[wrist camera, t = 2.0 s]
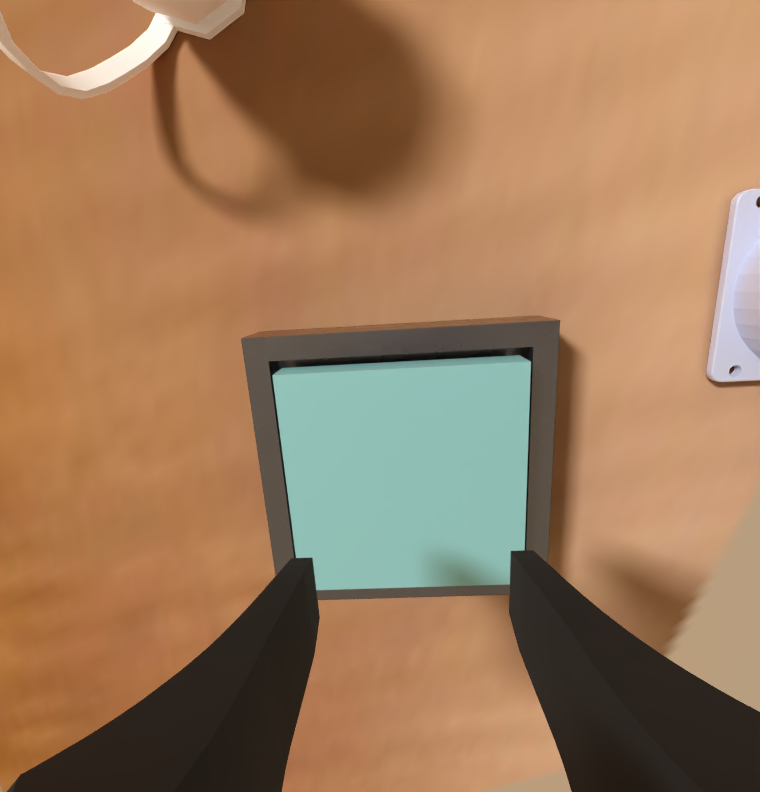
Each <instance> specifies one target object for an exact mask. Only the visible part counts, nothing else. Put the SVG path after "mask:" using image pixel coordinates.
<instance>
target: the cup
mask: <svg viewBox="0 0 760 792" xmlns="http://www.w3.org/2000/svg"><path fill="white" fill-rule="evenodd" d="M132 1H133V2H135V3H137V4H138V5H140V6H142V7H144V8H145V9H147V10H149V11H152V12H155V13H156V14H155V16H154V18H153V20H152V22H151V25H150V27H149V28H148V29H147V30H146V31H145V32H144V33H143V34H142V35H141V36H140V37H139V38H138V39H137V40H135V41H134V42H133V43H132V44H131V45H130V46H129V47H127V48H126V49H124V50H122V51H121V52H119V53H117V54H116V55H114V56H112V57H111V58H109V59H107V60H105V61H104V62H102V63H100V64H98V65H96V66H94V67H93V68H91V69H88V70H85V71H82V72H79V73H76V74H73V75H70V76H63V75H58V74H54V73H49V72H45V71H41V70H39V69H38V68H37V67H36V66H35V65H34V64H33V62H32V61H31V60H30V59H29V58H28V57H27V56H26V55H25V54H24V53H23V52H22V51H21V50H20V49H19V47H18V46H17V45H16V44H15V43H14V42H13V41H12V38H11V36H10V33H9V31H8V28H7V26H6V23H5V21H4V18H3V16H2V13H1V11H0V49H1V50H2V51H3V52H4V53H5V54H6V55H7V56H8V57H9V58H10V59H11V60H12V61H13V62H15V63H16V64H17V65H19V66H20V67H21V68H22V69H24V70H25V71H26V72H28V73H29V74H30V75H32V76H33V77H35V78H36V79H37V80H39V81H40V82H42V83H43V84H44V85H46V86H47V87H49V88H50V89H51V90H53V91H54V92H56V93H57V94H60V95H65V96H70V97H75V98H80V99H87V98H91V97H94V96H97V95H101V94H104V93H107V92H109V91H111V90H113V89H115V88H116V87H118V86H120V85H121V84H123V83H125V82H126V81H128V80H129V79H131V78H132V77H134V76H135V75H137V74H138V73H140V72H141V71H143V70H144V69H146V68H147V67H149V66H150V65H151V64H152V63H153V62H154V61H155V60H156V59H157V58H158V57H159V56H160V55H161V54H163V53H164V52H165V51H166V50H167V49H168V48H169V46H170V44H171V42H172V41H173V39H174V37H175V35H176V33H177V31H180V32H184V33H187V34H191V35H195V36H198V37H202V38H205V39H209V40H210V39H212V38H213V37H214V36H216V35H217V34H218V33H219V32H221V31H222V30H223V29H225V28H226V27H227V26H228V25H230V24H231V23H232V22H234V21H235V20H236V19H237V18H239V17H240V16H241V15H243V14H244V12H245V4H246V0H132Z"/></svg>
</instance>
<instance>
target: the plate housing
mask: <svg viewBox="0 0 760 792" xmlns="http://www.w3.org/2000/svg"><path fill="white" fill-rule="evenodd" d="M559 329H560V320H557V319H552V318H547V317H542V316H525V317H507V318H490V319H473V320H456V321H438V322H421V323H404V324H387V325H369V326H352V327H335V328H318V329H300V330H283V331H266V332H258V333H255V334H252V335H250V336H247V337H244V338H241V341H242V348H243V355H244V362H245V368H246V375H247V382H248V389H249V396H250V403H251V410H252V417H253V423H254V430H255V437H256V444H257V451H258V458H259V465H260V471H261V478H262V485H263V492H264V499H265V506H266V513H267V520H268V526H269V533H270V540H271V547H272V554H273V561H274V568H275V574H276V575H277V574H278V573H279V572H280V570H281V569H282V568H283V567H284V566H285V565H286V563H287V562H288V561H289V560H290V559H291V558H296V554H295V546H294V538H293V531H292V523H291V515H290V508H289V500H288V492H287V484H286V477H285V469H284V461H283V453H282V446H281V438H280V430H279V422H278V415H277V407H276V399H275V391H274V384H273V376H272V375H273V374H275V373H276V372H277V371H279V370H280V369H282V368H290V367H309V366H328V365H346V364H365V363H383V362H402V361H420V360H439V359H457V358H476V357H495V356H513V355H520V356H522V357H524V358H525V359H527V360H529V361H531V376H530V405H529V435H528V464H527V494H526V523H525V550H533V551H535V552H536V553H537V554H538V555H539V556H540V557H541V558H542V559H543V560H544V561H545V562H547V563H548V545H549V526H550V506H551V486H552V467H553V447H554V427H555V408H556V388H557V368H558V349H559ZM316 592H317V600H338V599H373V598H407V597H442V596H476V595H510V584H507V585H474V586H441V587H407V588H374V589H340V590H316Z"/></svg>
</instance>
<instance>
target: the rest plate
mask: <svg viewBox="0 0 760 792" xmlns="http://www.w3.org/2000/svg"><path fill="white" fill-rule="evenodd" d="M272 376H273V384H274V391H275V399H276V407H277V415H278V422H279V430H280V438H281V446H282V453H283V461H284V469H285V477H286V484H287V492H288V500H289V508H290V515H291V523H292V531H293V538H294V546H295V554H296V558H313V566H314V575H315V583H316V590H340V589H374V588H407V587H441V586H474V585H507V584H510V559H511V551H522V550H525V523H526V494H527V464H528V435H529V405H530V376H531V361H529V360H527V359H525V358H524V357H522V356H520V355H513V356H495V357H476V358H457V359H439V360H420V361H402V362H383V363H365V364H346V365H328V366H309V367H290V368H282V369H280V370H279V371H277V372H276V373H275V374H273V375H272Z"/></svg>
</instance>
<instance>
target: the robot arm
mask: <svg viewBox="0 0 760 792" xmlns="http://www.w3.org/2000/svg"><path fill="white" fill-rule="evenodd" d="M758 197H759V198H760V189H750V190H746V191H742V192H740V193H738V194H737V195H735V197H734V198H733V199H732V202H731V205H730V212H729V219H728V226H727V233H726V240H725V247H724V253H723V260H722V267H721V274H720V281H719V288H718V295H717V302H716V309H715V316H714V322H713V329H712V336H711V343H710V350H709V357H708V364H707V376H708V378H709V379H711V380H713V381H716V382H736V381H756V380H760V207H759V208H758V207H757V206H756V201H757V198H758ZM733 366H734V371H733V372H732V373H731V374H729V370H730V368H731V367H733ZM509 613H510V617H511V621H512V625H513V629H514V633H515V636H516V640H517V643H518V647H519V650H520V653H521V656H522V658H523V661H524V663H525V666H526V669H527V671H528V674H529V676H530V679H531V681H532V684H533V686H534V689H535V692H536V694H537V697H538V699H539V702H540V704H541V707H542V709H543V712H544V714H545V717H546V719H547V722H548V724H549V727H550V729H551V732H552V734H553V737H554V740H555V742H556V745H557V748H558V751H559V753H560V756H561V759H562V762H563V765H564V768H565V771H566V774H567V777H568V780H569V784H570V787H571V791H572V792H760V712H759V711H757V710H755V709H753V708H751V707H749V706H747V705H745V704H744V703H742V702H740V701H738V700H736V699H734V698H733V697H731V696H729V695H727V694H725V693H724V692H722V691H720V690H718V689H717V688H715V687H713V686H711V685H710V684H708V683H707V682H705V681H703V680H701V679H700V678H698V677H696V676H695V675H693V674H691V673H690V672H688V671H686V670H685V669H683V668H682V667H680V666H678V665H677V664H675V663H674V662H672V661H670V660H669V659H667V658H666V657H664V656H663V655H661V654H660V653H659V652H657V651H656V650H654V649H653V648H651V647H650V646H648V645H647V644H645V643H644V642H642V641H641V640H639V639H638V638H637V637H635V636H634V635H633V634H631V633H630V632H628V631H627V630H626V629H624V628H623V627H622V626H621V625H619V624H618V623H617V622H615V621H614V620H613V619H611V618H610V617H609V616H608V615H606V614H605V613H604V612H602V611H601V610H600V609H599V608H598V607H596V606H595V605H594V604H593V603H592V602H590V601H589V600H588V599H587V598H586V597H584V596H583V595H582V594H581V593H580V592H579V591H577V590H576V589H575V588H574V587H573V586H572V585H571V584H570V583H568V582H567V581H566V580H565V579H564V578H563V577H562V576H561V575H560V574H558V573H557V572H556V571H555V570H554V569H553V568H552V567H551V566H550V565H549V564H548V563H547V562H545V561H544V560H543V559H542V558H541V557H540V556H539V555H538V554H537V553H536V552H535V551H533V550H522V551H511V559H510V600H509ZM319 618H320V617H319V609H318V600H317V592H316V583H315V575H314V566H313V558H291V559H290V560H289V561H288V562H287V563H286V565H285V566H284V567H283V568H282V569H281V570H280V572H279V573H278V574H277V575H276V576H275V577H274V579H273V580H272V581H271V582H270V583H269V584H268V586H267V587H266V588H265V589H264V590H263V591H262V593H261V594H260V595H259V596H258V597H257V598H256V599H255V600H254V601H253V603H252V604H251V605H250V606H249V607H248V608H247V609H246V610H245V611H244V612H243V613H242V614H241V616H240V617H239V618H238V619H237V620H236V621H235V622H234V623H233V624H232V625H231V626H230V627H229V628H228V629H227V630H226V631H225V632H224V633H223V634H222V635H221V636H220V637H219V638H218V639H217V640H216V641H214V642H213V643H212V644H211V645H210V646H209V647H208V648H207V649H206V650H205V651H203V652H202V653H201V654H200V655H199V656H198V657H196V658H195V659H194V660H193V661H192V662H191V663H189V664H188V665H187V666H186V667H185V668H183V669H182V670H181V671H180V672H178V673H177V674H176V675H175V676H173V677H172V678H171V679H169V680H168V681H167V682H165V683H164V684H163V685H161V686H160V687H159V688H157V689H156V690H155V691H153V692H152V693H151V694H149V695H148V696H147V697H146V698H144V699H143V700H141V701H140V702H139V703H137V704H136V705H134V706H133V707H131V708H130V709H128V710H127V711H125V712H124V713H123V714H121V715H120V716H118V717H117V718H115V719H114V720H112V721H110V722H109V723H107V724H106V725H104V726H103V727H101V728H100V729H98V730H97V731H95V732H93V733H92V734H90V735H89V736H87V737H85V738H84V739H82V740H80V741H79V742H77V743H75V744H74V745H72V746H70V747H68V748H67V749H65V750H63V751H61V752H60V753H58V754H56V755H55V756H53V757H51V758H49V759H48V760H46V761H44V762H42V763H41V764H39V765H37V766H36V767H34V768H32V769H30V770H28V771H27V772H25V773H23V774H21V775H20V776H19V777H18V778H17V780H16V781H15V782H14V783H13V785H12V786H11V787H10V788H9V790H8V791H7V792H282V786H283V780H284V774H285V769H286V764H287V760H288V755H289V751H290V746H291V742H292V739H293V735H294V731H295V727H296V723H297V719H298V716H299V712H300V708H301V704H302V700H303V697H304V693H305V689H306V685H307V681H308V677H309V673H310V669H311V666H312V662H313V658H314V653H315V646H316V640H317V632H318V625H319Z"/></svg>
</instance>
